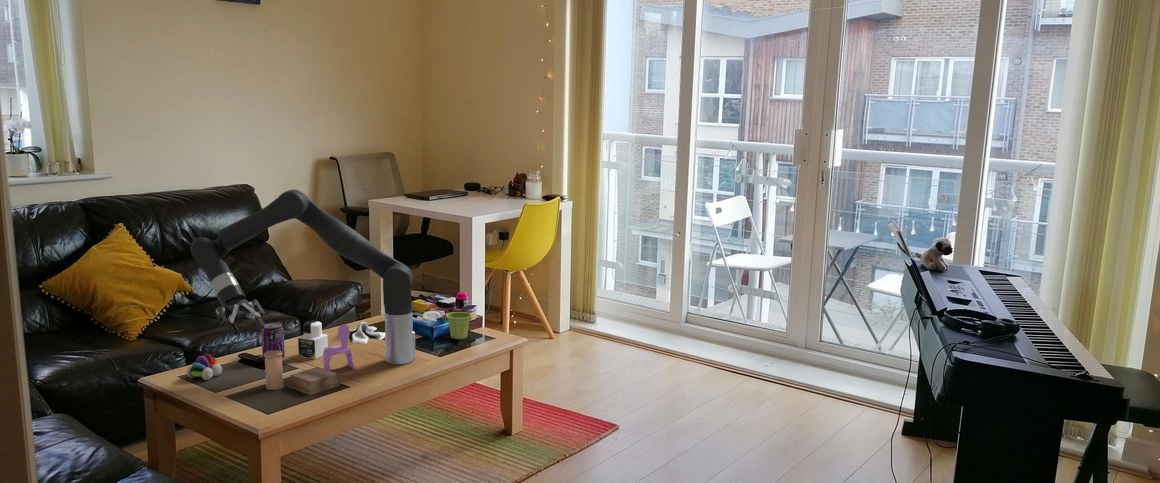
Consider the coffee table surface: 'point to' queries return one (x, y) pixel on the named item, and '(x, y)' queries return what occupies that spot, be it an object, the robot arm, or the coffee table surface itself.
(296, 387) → the base slab
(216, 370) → the colorful domed toy
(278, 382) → the canister
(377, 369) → the coffee table surface
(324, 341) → the medicine bottle
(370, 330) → the cloth
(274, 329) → the beverage can
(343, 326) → the toy chair
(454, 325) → the plant pot
